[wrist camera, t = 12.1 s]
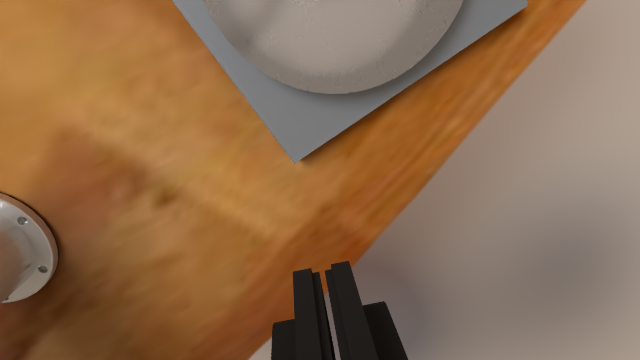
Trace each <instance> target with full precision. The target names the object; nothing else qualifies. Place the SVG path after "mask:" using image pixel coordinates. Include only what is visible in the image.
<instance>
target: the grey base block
mask: <svg viewBox="0 0 640 360" xmlns="http://www.w3.org/2000/svg"><path fill="white" fill-rule="evenodd" d="M172 1H173V2H174V4H175V5H176V6H177V8H178V9H179V10H180V12H181V13H182V14H183V16H184V17H185V18H186V20H187V21H188V22H189V24H190V25H191V26H192V28H193V29H194V30H195V32H196V33H197V34H198V36H199V37H200V38H201V40H202V41H203V42H204V44H205V45H206V46H207V48H208V49H209V50H210V52H211V53H212V54H213V56H214V57H215V58H216V60H217V61H218V62H219V64H220V65H221V66H222V68H223V69H224V70H225V72H226V73H227V74H228V76H229V77H230V78H231V80H232V81H233V82H234V84H235V85H236V86H237V88H238V89H239V90H240V92H241V93H242V94H243V96H244V97H245V98H246V100H247V101H248V102H249V104H250V105H251V106H252V108H253V109H254V110H255V112H256V113H257V114H258V116H259V117H260V118H261V120H262V121H263V122H264V124H265V125H266V126H267V128H268V129H269V130H270V132H271V133H272V134H273V136H274V137H275V138H276V140H277V141H278V142H279V144H280V145H281V146H282V148H283V149H284V150H285V152H286V153H287V154H288V156H289V157H290V158H291V160H292V161H293V162H294V164H295V163H296V162H298V161H299V160H301V159H302V158H304V157H305V156H307V155H308V154H309V153H311V152H312V151H314V150H315V149H317V148H318V147H320V146H321V145H323V144H324V143H326V142H327V141H329V140H330V139H332V138H333V137H335V136H336V135H338V134H339V133H340V132H342V131H343V130H345V129H346V128H348V127H349V126H351V125H352V124H354V123H355V122H357V121H358V120H360V119H361V118H363V117H364V116H366V115H367V114H368V113H370V112H371V111H373V110H374V109H376V108H377V107H379V106H380V105H382V104H383V103H385V102H386V101H388V100H389V99H391V98H392V97H394V96H395V95H396V94H398V93H399V92H401V91H402V90H404V89H405V88H407V87H408V86H410V85H411V84H413V83H414V82H416V81H417V80H419V79H420V78H422V77H423V76H424V75H426V74H427V73H429V72H430V71H432V70H433V69H435V68H436V67H438V66H439V65H441V64H442V63H444V62H445V61H447V60H448V59H450V58H451V57H452V56H454V55H455V54H457V53H458V52H460V51H461V50H463V49H464V48H466V47H467V46H469V45H470V44H472V43H473V42H475V41H476V40H478V39H479V38H480V37H482V36H483V35H485V34H486V33H488V32H489V31H491V30H492V29H494V28H495V27H497V26H498V25H500V24H501V23H503V22H504V21H506V20H507V19H509V18H510V17H511V16H513V15H514V14H516V13H517V12H519V11H520V10H522V9H523V8H525V7H526V6H528V5H529V4H528V2H527V0H463V2H462V5H461V7H460V9H459V11H458V13H457V15H456V16H455V18H454V20H453V21H452V23H451V25H450V26H449V28H448V30H447V31H446V32H445V34H444V35H443V36H442V38H441V39H440V40H439V41H438V43H437V44H436V45H435V46H434V47H433V48H432V49H431V50H430V51H429V52H428V54H427V55H426V56H425V57H424V58H422V59H421V60H420V61H419V62H418V63H416V64H415V65H414V66H413V67H411V68H410V69H409V70H407V71H406V72H404V73H402V74H401V75H399V76H398V77H396V78H394V79H392V80H390V81H388V82H386V83H384V84H382V85H379V86H376V87H373V88H370V89H367V90H363V91H358V92H352V93H344V94H325V93H314V92H310V91H305V90H301V89H297V88H294V87H292V86H289V85H286V84H284V83H281V82H279V81H277V80H276V79H274V78H272V77H270V76H268V75H266V74H265V73H263V72H262V71H260V70H259V69H258V68H256V67H255V66H253V65H252V64H251V63H250V62H248V61H247V60H246V59H245V58H244V57H243V56H242V55H241V54H240V53H239V52H237V51H236V49H235V48H234V47H233V46H232V45H231V44H230V42H229V41H228V40H227V39H226V38H225V37H224V35H223V34H222V32H221V31H220V29H219V28H218V26H217V25H216V24H215V22H214V21H213V19H212V17H211V15H210V13H209V11H208V10H207V8H206V6H205V4H204V2H203V0H172Z"/></svg>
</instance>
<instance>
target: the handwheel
mask: <svg viewBox="0 0 640 360" xmlns="http://www.w3.org/2000/svg"><path fill="white" fill-rule="evenodd" d="M203 2H204V4H205V6H206V8H207V10H208V11H209V13H210V15H211V17H212V19H213V21H214V22H215V24H216V25H217V26H218V28H219V29H220V31H221V32H222V34H223V35H224V37H225V38H226V39H227V40H228V41H229V42H230V44H231V45H232V46H233V47H234V48H235V49H236V51H237V52H239V53H240V54H241V55H242V56H243V57H244V58H245V59H246V60H247V61H248V62H250V63H251V64H252V65H253V66H255V67H256V68H258V69H259V70H260V71H262V72H263V73H265V74H266V75H268V76H270V77H272V78H274V79H276V80H277V81H279V82H281V83H284V84H286V85H289V86H292V87H294V88H297V89H301V90H305V91H310V92H314V93H325V94H344V93H352V92H358V91H363V90H367V89H370V88H373V87H376V86H379V85H382V84H384V83H386V82H388V81H390V80H392V79H394V78H396V77H398V76H399V75H401V74H402V73H404V72H406V71H407V70H409V69H410V68H411V67H413V66H414V65H415V64H416V63H418V62H419V61H420V60H421V59H422V58H424V57H425V56H426V55H427V54H428V52H429V51H430V50H431V49H432V48H433V47H434V46H435V45H436V44H437V43H438V41H439V40H440V39H441V38H442V36H443V35H444V34H445V32H446V31H447V30H448V28H449V26H450V25H451V23H452V21H453V20H454V18H455V16H456V15H457V13H458V11H459V9H460V7H461V5H462V2H463V0H203Z"/></svg>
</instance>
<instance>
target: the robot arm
mask: <svg viewBox="0 0 640 360" xmlns="http://www.w3.org/2000/svg"><path fill="white" fill-rule="evenodd" d="M57 262H58V249H57V246H56V242H55V239H54V237H53V235H52V233H51V231H50V229H49V228H48V227H47V225H46V224H45V223H44V221H43V220H42V219H41V218H40V217H39V216H38V215H37V214H36V213H35V212H34V211H33V210H31V209H30V208H28V207H27V206H25V205H24V204H23V203H21V202H19V201H17V200H15V199H13V198H11V197H9V196H7V195H4V194H1V193H0V304H1V303H8V302H14V301H19V300H22V299H25V298H28V297H29V296H31V295H33V294H35V293H36V292H38V291H39V290H40V289H41V288H42V287H43V286H44V285H45V284H46V283H47V282H48V281H49V280H50V279H51V278H52V276H53V274H54V272H55V270H56V267H57ZM331 268H332V269H331V270H326V271H325V275H326V280H327V286H328V291H329V297H330V302H331V307H332V313H333V318H334V324H335V329H336V335H337V341H338V346H339V352H340V357H341V360H408V358H407V356H406V353H405V351H404V348H403V345H402V343H401V340H400V338H399V335H398V333H397V330H396V328H395V325H394V323H393V320H392V318H391V315H390V313H389V310H388V307H387V305H386V303H385V302H384V301H383V302H378V303H373V304H368V305H363V306H362V303H361V300H360V296H359V293H358V290H357V286H356V283H355V280H354V276H353V273H352V270H351V266H350V263H349V261H346V262H341V263H336V264H331ZM293 287H294V313H295V319H292V320H286V321H281V322H276V323H274V324H273V329H272V353H271V355H272V356H271V360H336V359H335V353H334V347H333V342H332V336H331V331H330V326H329V321H328V316H327V311H326V305H325V300H324V295H323V289H322V284H321V279H320V274H319V272H315V273H312V270H311V268H310V269H304V270H299V271H294V272H293Z"/></svg>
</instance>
